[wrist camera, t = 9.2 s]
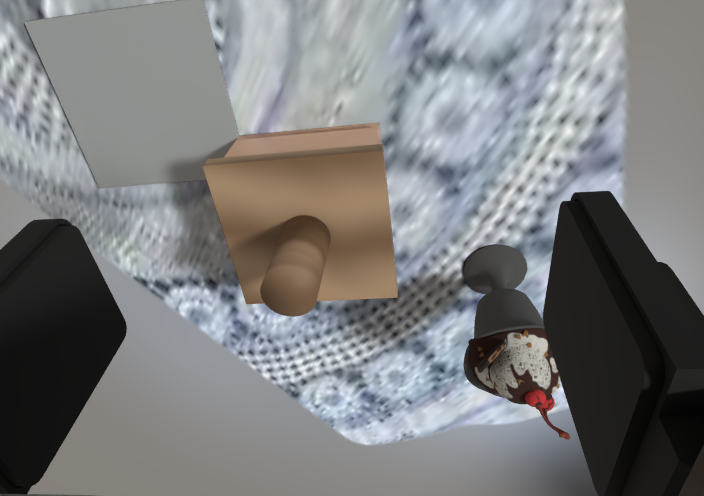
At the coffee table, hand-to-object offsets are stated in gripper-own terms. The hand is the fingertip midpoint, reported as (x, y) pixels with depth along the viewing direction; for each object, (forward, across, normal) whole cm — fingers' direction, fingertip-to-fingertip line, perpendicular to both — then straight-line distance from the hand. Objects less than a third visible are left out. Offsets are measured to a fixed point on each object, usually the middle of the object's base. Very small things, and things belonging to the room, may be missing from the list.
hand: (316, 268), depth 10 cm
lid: (+20, +5, +12) cm, 24 cm away
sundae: (+25, -8, +20) cm, 33 cm away
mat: (+26, +16, +5) cm, 31 cm away
